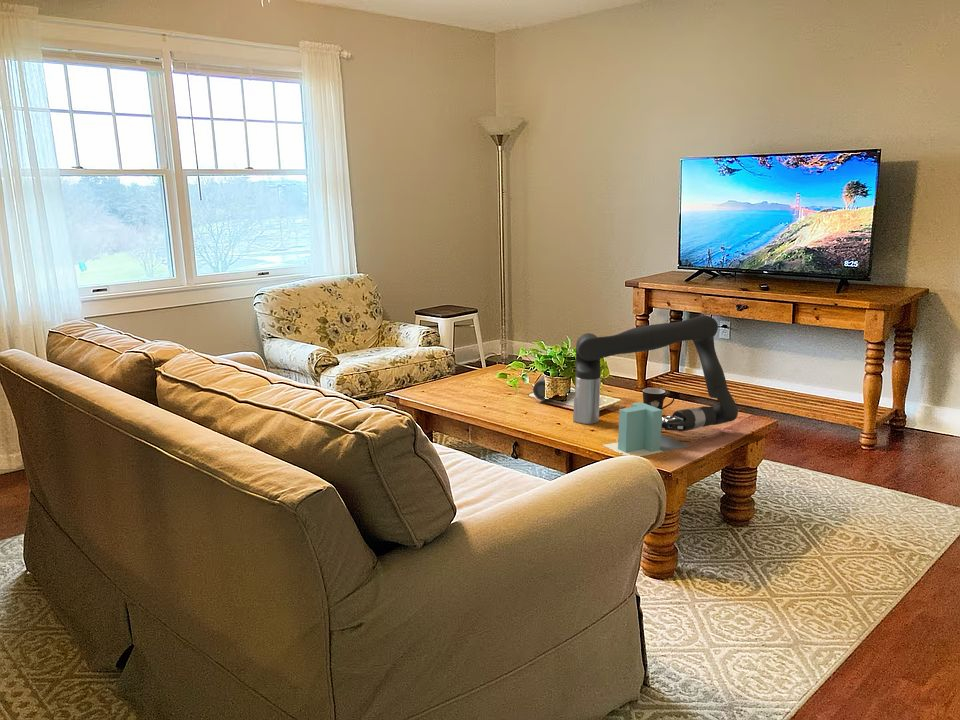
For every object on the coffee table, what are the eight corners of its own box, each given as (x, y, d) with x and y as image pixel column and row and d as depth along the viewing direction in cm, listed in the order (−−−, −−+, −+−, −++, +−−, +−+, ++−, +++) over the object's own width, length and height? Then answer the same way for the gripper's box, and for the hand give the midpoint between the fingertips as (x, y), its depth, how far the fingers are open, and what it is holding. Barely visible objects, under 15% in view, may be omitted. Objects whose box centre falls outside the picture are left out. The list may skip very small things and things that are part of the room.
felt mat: (660, 436, 282) (661, 433, 282) (690, 448, 269) (690, 446, 269) (602, 447, 270) (602, 444, 270) (630, 460, 257) (630, 458, 257)
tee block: (638, 440, 274) (640, 402, 271) (660, 449, 265) (662, 410, 262) (611, 446, 269) (612, 406, 266) (632, 455, 259) (634, 415, 256)
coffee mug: (638, 416, 305) (639, 392, 303) (644, 411, 312) (646, 386, 310) (668, 421, 300) (669, 395, 297) (674, 415, 307) (675, 390, 305)
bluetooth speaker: (553, 404, 321) (553, 380, 319) (531, 402, 325) (532, 378, 323) (569, 391, 342) (569, 368, 340) (548, 389, 345) (549, 366, 343)
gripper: (676, 404, 281) (638, 410, 273) (703, 413, 270) (664, 420, 262) (675, 424, 283) (637, 431, 275) (701, 434, 272) (662, 442, 264)
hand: (650, 426), depth 269 cm, fingers closed
